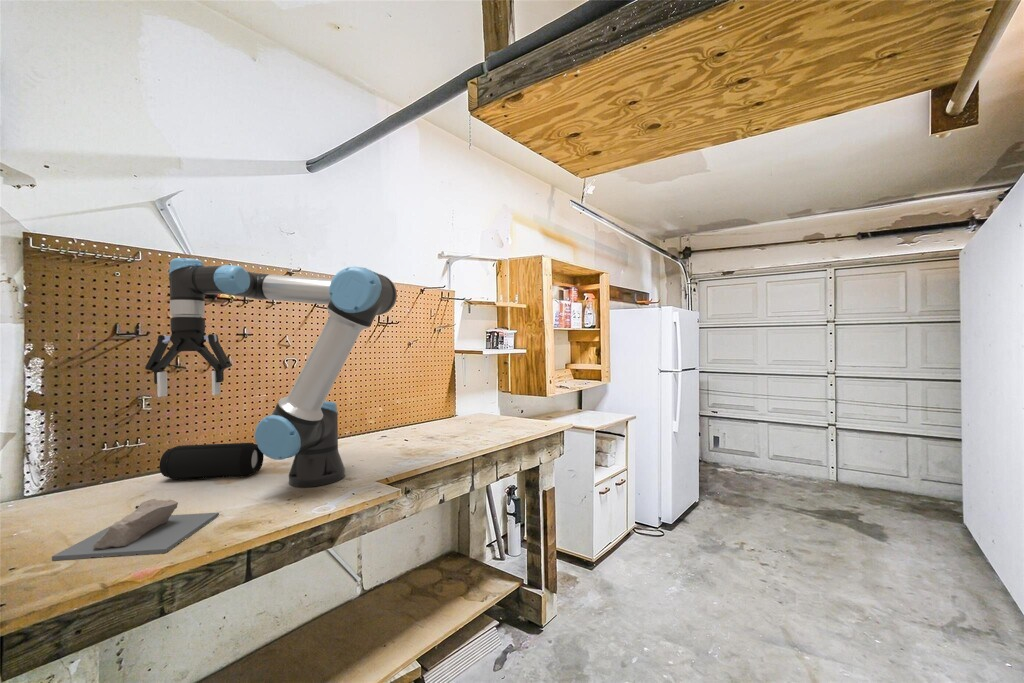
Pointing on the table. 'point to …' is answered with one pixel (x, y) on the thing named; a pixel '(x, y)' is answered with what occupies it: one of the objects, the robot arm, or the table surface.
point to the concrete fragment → (137, 523)
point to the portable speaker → (211, 461)
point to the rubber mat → (142, 539)
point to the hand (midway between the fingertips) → (189, 395)
